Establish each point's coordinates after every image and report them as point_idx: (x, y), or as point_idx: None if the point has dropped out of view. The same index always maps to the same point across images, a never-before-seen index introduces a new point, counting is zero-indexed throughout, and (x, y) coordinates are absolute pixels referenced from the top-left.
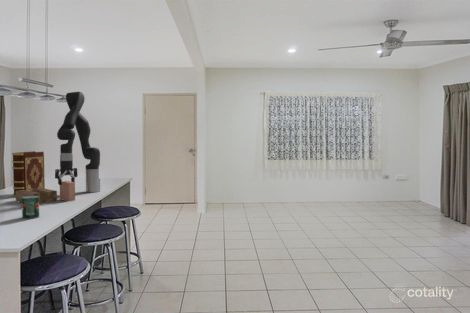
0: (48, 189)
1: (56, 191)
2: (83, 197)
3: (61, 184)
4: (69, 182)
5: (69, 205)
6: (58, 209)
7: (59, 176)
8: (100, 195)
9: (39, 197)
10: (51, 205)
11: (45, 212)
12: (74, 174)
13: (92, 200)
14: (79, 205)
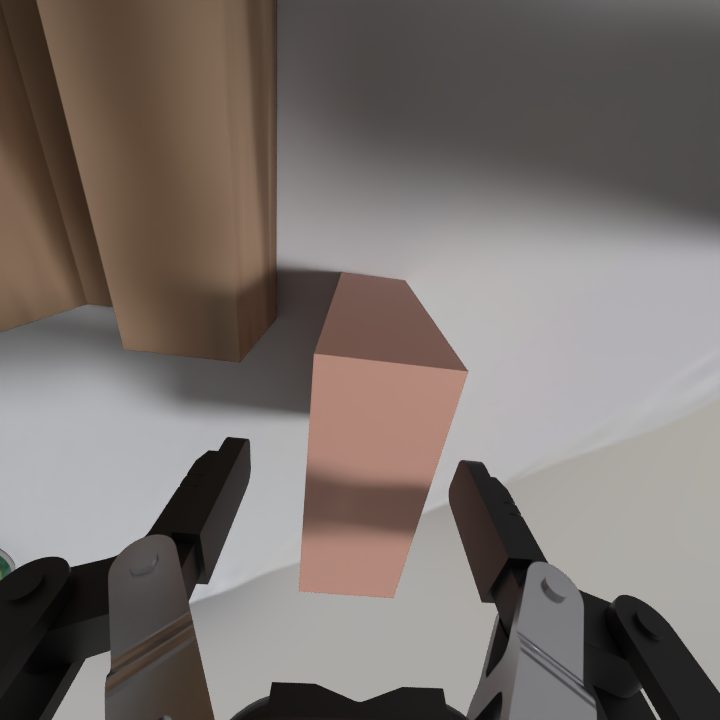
0: (214, 99)
1: (236, 359)
2: (513, 380)
3: (243, 486)
4: (339, 565)
5: (242, 507)
6: (144, 534)
7: (135, 634)
8: (644, 423)
9: (41, 314)
10: (155, 431)
11: (61, 536)
12: (660, 692)
13: (434, 504)
14: (281, 541)
